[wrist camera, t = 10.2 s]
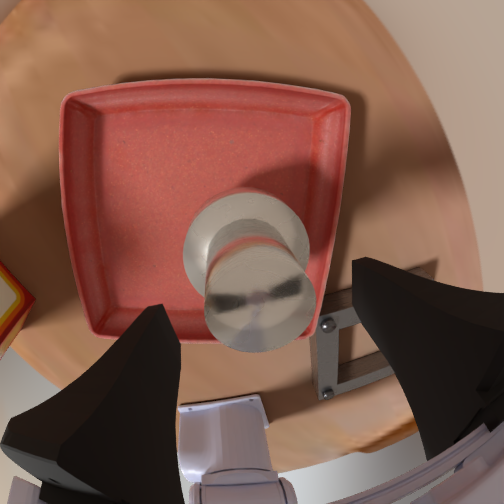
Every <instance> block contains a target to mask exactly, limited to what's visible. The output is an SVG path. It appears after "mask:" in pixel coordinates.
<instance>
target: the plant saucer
mask: <svg viewBox="0 0 504 504" xmlns="http://www.w3.org/2000/svg"><path fill="white" fill-rule="evenodd" d="M350 119H351V107H350V103H349V102H348V100H347V99H346V98H345V97H344V96H343V95H341V94H337V93H333V92H328V91H323V90H319V89H313V88H307V87H301V86H294V85H287V84H280V83H271V82H262V81H253V80H235V79H215V78H187V79H164V80H147V81H137V82H127V83H119V84H112V85H105V86H99V87H94V88H88V89H82V90H76V91H73V92H70V93H69V94H67V95H66V96H65V97H64V99H63V100H62V103H61V107H60V125H59V171H60V187H61V202H62V210H63V216H64V225H65V231H66V238H67V244H68V248H69V255H70V260H71V264H72V269H73V274H74V278H75V282H76V286H77V290H78V295H79V298H80V301H81V305H82V308H83V312H84V315H85V319H86V322H87V325H88V328H89V330H90V332H91V333H92V334H93V335H95V336H96V337H99V338H105V339H115V340H118V339H119V337H120V336H121V335H122V334H123V333H124V332H125V331H126V329H127V328H128V327H129V326H130V325H131V324H132V323H133V321H134V320H135V319H136V318H137V317H138V316H139V315H140V314H141V313H142V312H143V311H144V310H145V309H146V308H147V307H148V306H152V305H157V304H162V303H163V306H164V308H165V310H166V313H167V315H168V317H169V319H170V322H171V324H172V326H173V328H174V331H175V333H176V335H177V337H178V339H179V342H180V343H215V344H220V343H221V342H220V341H219V340H217V339H216V338H215V337H214V336H213V334H212V333H211V332H210V330H209V328H208V326H207V324H206V321H205V316H204V300H205V298H204V297H203V296H202V295H201V294H199V293H198V291H197V290H196V289H195V288H194V287H193V285H192V284H191V282H190V280H189V278H188V276H187V274H186V271H185V268H184V263H183V247H184V242H185V238H186V235H187V231H188V228H189V225H190V222H191V220H192V218H193V216H194V215H195V213H196V211H197V210H198V209H199V208H200V207H201V205H202V204H204V203H205V202H206V201H207V200H208V199H210V198H211V197H212V196H214V195H216V194H218V193H220V192H222V191H225V190H228V189H232V188H237V187H253V188H259V189H262V190H265V191H268V192H270V193H272V194H274V195H276V196H277V197H279V198H280V199H281V200H282V201H283V202H285V203H286V204H287V205H288V206H289V207H290V208H291V209H292V210H293V211H294V212H295V214H296V215H297V216H298V217H299V218H300V220H301V222H302V223H303V225H304V227H305V229H306V232H307V235H308V239H309V246H310V252H309V260H308V264H307V268H306V270H305V273H306V275H307V276H308V278H309V279H310V281H311V283H312V285H313V287H314V289H315V293H316V309H315V313H314V316H313V318H312V320H311V322H310V324H309V325H308V327H307V328H306V329H305V331H304V332H303V333H302V334H301V335H300V336H298V337H297V338H296V339H295V340H302V339H306V338H308V337H310V336H312V335H314V333H315V330H316V327H317V323H318V318H319V314H320V311H321V307H322V301H323V297H324V293H325V288H326V283H327V278H328V274H329V270H330V264H331V257H332V253H333V247H334V243H335V237H336V229H337V225H338V221H339V214H340V205H341V200H342V192H343V184H344V177H345V171H346V160H347V150H348V142H349V133H350Z"/></svg>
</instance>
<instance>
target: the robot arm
mask: <svg viewBox="0 0 504 504" xmlns="http://www.w3.org/2000/svg"><path fill="white" fill-rule="evenodd" d="M352 305H353V307H354V309H355V311H356V314H357V316H358V317H359V319H360V321H361V323H362V325H363V326H364V328H365V329H366V331H367V332H368V334H369V335H370V336H371V338H372V339H373V341H374V342H375V344H376V345H377V347H378V348H379V349H380V351H381V352H382V354H383V355H384V357H385V358H386V360H387V361H388V363H389V364H390V366H391V367H392V369H393V371H394V373H395V375H396V377H397V379H398V381H399V383H400V385H401V387H402V389H403V391H404V393H405V396H406V398H407V400H408V403H409V405H410V407H411V410H412V412H413V415H414V418H415V421H416V424H417V426H418V429H419V432H420V436H421V439H422V442H423V446H424V450H425V454H426V459H427V462H426V463H424V464H422V465H420V466H418V467H416V468H414V469H413V470H411V471H409V472H407V473H405V474H403V475H401V476H399V477H397V478H394V479H392V480H390V481H388V482H385V483H383V484H381V485H379V486H376V487H374V488H372V489H369V490H366V491H364V492H361V493H358V494H355V495H353V496H350V497H347V498H344V499H341V500H338V501H335V502H331V503H328V504H391V503H393V502H395V501H397V500H399V499H402V498H403V497H405V496H408V495H410V494H412V493H413V492H415V491H417V490H419V489H421V488H422V487H424V486H426V485H428V484H430V483H431V482H433V481H435V480H436V479H438V478H439V477H441V476H443V475H444V474H446V473H448V472H449V471H450V470H452V469H453V468H455V467H456V468H455V470H454V474H453V475H452V476H450V477H449V478H447V479H446V480H444V481H443V482H441V483H440V484H438V485H437V486H435V487H433V488H432V489H431V490H429V491H428V492H427V493H425V494H424V495H422V496H421V497H419V498H417V499H416V500H414V501H412V502H411V503H410V504H504V293H492V292H483V291H476V290H470V289H464V288H459V287H455V286H451V285H447V284H443V283H440V282H436V281H433V280H430V279H427V278H424V277H421V276H418V275H415V274H412V273H410V272H407V271H404V270H402V269H399V268H397V267H394V266H391V265H389V264H386V263H383V262H381V261H378V260H375V259H372V258H368V257H364V258H360V259H356V260H352ZM180 371H181V344H180V342H179V339H178V337H177V335H176V333H175V331H174V328H173V326H172V324H171V322H170V319H169V317H168V315H167V313H166V310H165V308H164V306H163V303H162V304H157V305H152V306H148V307H147V308H146V309H145V310H144V311H143V312H142V313H141V314H140V315H139V316H138V317H137V318H136V319H135V320H134V321H133V323H132V324H131V325H130V326H129V327H128V328H127V329H126V331H125V332H124V333H123V334H122V335H121V336H120V337H119V339H118V340H117V341H116V342H115V343H114V344H113V345H112V346H111V347H110V348H109V349H108V350H107V351H106V352H105V353H104V355H103V356H102V357H101V358H100V359H99V360H98V361H97V362H96V363H94V364H93V365H92V366H91V367H90V368H89V369H88V370H87V371H86V372H84V373H83V374H82V375H81V376H80V377H79V378H77V379H76V380H75V381H73V382H72V383H71V384H69V385H68V386H67V387H65V388H64V389H63V390H61V391H60V392H59V393H57V394H56V395H54V396H53V397H51V398H50V399H48V400H46V401H45V402H43V403H41V404H39V405H38V406H36V407H34V408H32V409H30V410H28V411H26V412H24V413H21V414H19V415H17V416H15V417H13V418H11V419H10V421H9V423H8V425H7V427H6V430H5V432H4V435H3V437H2V440H1V443H0V447H1V449H2V451H3V452H4V453H5V454H6V455H7V456H8V457H9V458H10V459H11V460H12V461H14V462H15V463H16V464H17V465H19V466H20V467H21V468H23V469H24V470H26V471H27V472H29V473H30V474H32V475H33V476H34V477H36V478H37V479H39V480H40V481H42V486H41V488H40V487H38V486H37V485H35V484H32V483H30V482H28V481H26V480H23V479H21V478H19V477H17V476H14V477H13V481H12V485H11V489H10V493H9V498H8V503H7V504H185V503H184V498H183V493H182V488H181V482H180V476H179V468H178V459H177V448H176V428H175V422H176V407H177V398H178V389H179V380H180ZM178 411H179V412H180V424H179V447H178V455H179V463H180V467H181V470H182V473H183V475H184V476H185V478H186V479H187V480H188V481H189V482H192V483H194V484H193V485H192V486H191V487H190V490H189V504H297V498H296V494H295V491H294V488H293V486H292V484H291V483H290V482H289V481H288V480H286V479H285V478H283V477H281V478H278V473H277V471H273V469H272V464H271V459H270V454H269V449H268V444H267V439H266V433H265V428H268V427H269V423H268V420H267V416H266V413H265V410H264V407H263V404H262V401H261V398H260V395H258V394H254V395H249V396H243V397H238V398H232V399H226V400H219V401H213V402H205V403H197V404H189V405H180V406H178ZM201 484H202V485H201Z"/></svg>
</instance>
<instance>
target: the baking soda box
mask: <svg viewBox="0 0 504 504" xmlns="http://www.w3.org/2000/svg"><path fill="white" fill-rule="evenodd" d="M35 300H36V299H35V298H34V297H33V296H32V295H31V294H30V293H29V292H28V291H27V290H26V289H25V288H24V287H23V286H22V284H21V283H20V282H19V281H18V280H17V279H16V278H15V277H14V276H13V275H12V274H11V272H10V271H9V270H8V269H7V268H6V267H5V266H4V264H3V263H2V262H1V261H0V360H1V358H2V357H3V355H4V354H5V352H6V351H7V349H8V348H9V346H10V345H11V343H12V342H13V340H14V339H15V337H16V336H17V335H18V333H19V332H20V330H21V328H22V326H23V324H24V322H25V320H26V318H27V316H28V314H29V312H30V310H31V308H32V306H33V304H34V302H35Z"/></svg>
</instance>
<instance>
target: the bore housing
mask: <svg viewBox="0 0 504 504" xmlns="http://www.w3.org/2000/svg"><path fill="white" fill-rule="evenodd" d="M407 272H410V273H412V274H415V275H418V276H421V277H424V278H427V279H430V280H433V281H434V278H432V277H431V276H430V275H429V274H427V273H426V272H425V271H424V270H422V269H421V268H420V267H417V268H414V269H411V270H408V271H407ZM358 323H361V321H360V319H359V317H358V316H357V314H356V311H355V309H354V307H353V305H352V288H349V289H346V290H342V291H339V292H335V293H332V294H328V295H324V297H323V301H322V307H321V311H320V314H319V318H318V323H317V327H316V330H315V333H314V335H312V336H310V337H309V338H310V351H311V365H312V381H313V386H314V389H315V392H316V394H317V397H318V400H322V399H325V400H329V399H331V398H333V397H334V396H335V395H338V394H341V393H344V392H347V391H350V390H353V389H356V388H359V387H361V386H364V385H367V384H369V383H372V382H375V381H377V380H380V379H382V378H384V377H387V376H389V375H392V374H394V371H393V369H392V367H391V366H390V364H389V363H388V361H387V360H386V358H385V357H384V355H383V354H382V352H381V351H379V352H376V353H373V354H371V355H368V356H365V357H362V358H359V359H357V360H354V361H351V362H348V363H345V364H342V365H338V350H339V329H342V328H345V327H349V326H352V325H355V324H358Z"/></svg>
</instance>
